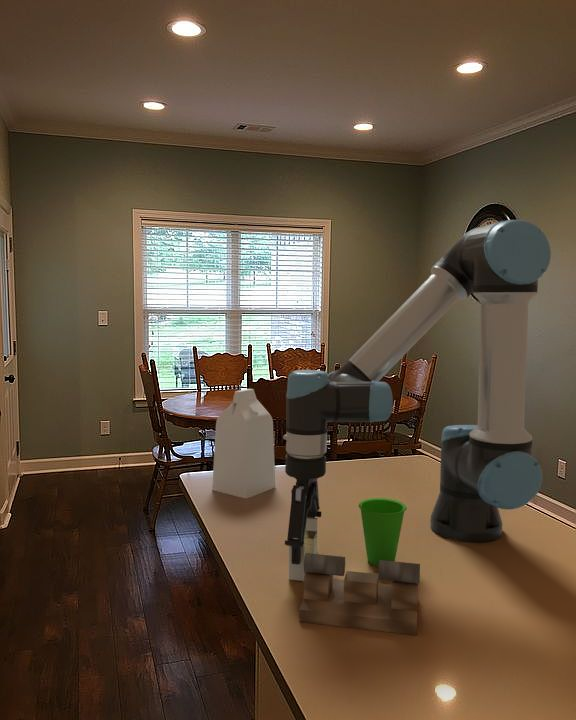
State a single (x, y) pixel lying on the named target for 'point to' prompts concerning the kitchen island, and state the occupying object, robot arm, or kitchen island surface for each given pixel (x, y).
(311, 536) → the wooden block
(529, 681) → the kitchen island surface
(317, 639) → the kitchen island surface
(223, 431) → the milk
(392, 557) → the cup
